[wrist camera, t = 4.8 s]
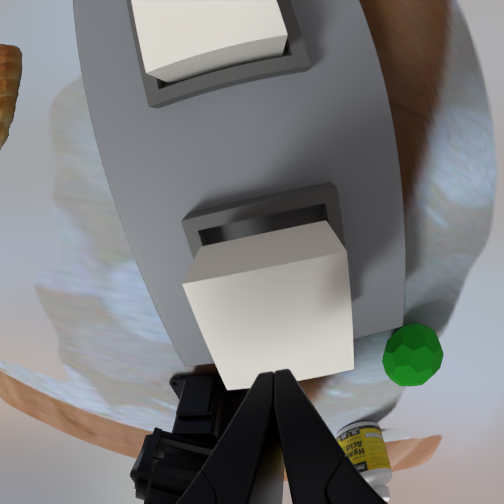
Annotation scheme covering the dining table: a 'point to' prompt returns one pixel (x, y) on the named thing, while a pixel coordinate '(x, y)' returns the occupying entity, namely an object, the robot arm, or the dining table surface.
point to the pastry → (8, 86)
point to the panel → (250, 155)
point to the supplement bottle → (367, 454)
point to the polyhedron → (412, 355)
